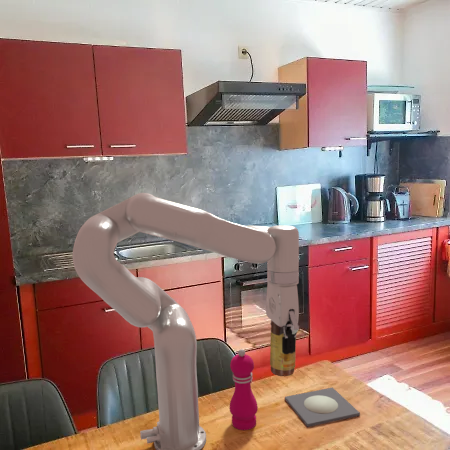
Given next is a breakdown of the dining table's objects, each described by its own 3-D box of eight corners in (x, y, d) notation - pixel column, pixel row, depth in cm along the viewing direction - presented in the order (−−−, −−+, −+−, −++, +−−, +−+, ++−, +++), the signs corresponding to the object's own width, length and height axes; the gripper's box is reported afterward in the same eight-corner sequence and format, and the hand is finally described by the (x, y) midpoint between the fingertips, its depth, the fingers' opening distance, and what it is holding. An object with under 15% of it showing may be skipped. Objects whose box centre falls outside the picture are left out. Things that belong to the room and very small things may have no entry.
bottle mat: (307, 427, 113) (307, 423, 113) (284, 399, 126) (284, 396, 126) (359, 415, 117) (359, 412, 117) (332, 390, 130) (332, 387, 130)
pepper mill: (256, 432, 111) (253, 356, 108) (227, 430, 113) (224, 355, 110) (259, 416, 118) (257, 344, 115) (232, 414, 120) (230, 343, 117)
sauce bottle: (287, 380, 108) (287, 300, 105) (265, 373, 112) (265, 296, 109) (300, 370, 113) (301, 293, 110) (278, 363, 117) (279, 289, 114)
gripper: (256, 269, 116) (256, 336, 119) (283, 287, 100) (283, 363, 102) (282, 267, 118) (282, 332, 121) (313, 284, 102) (312, 359, 104)
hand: (282, 346), depth 111 cm, fingers closed on sauce bottle, 6 cm apart
